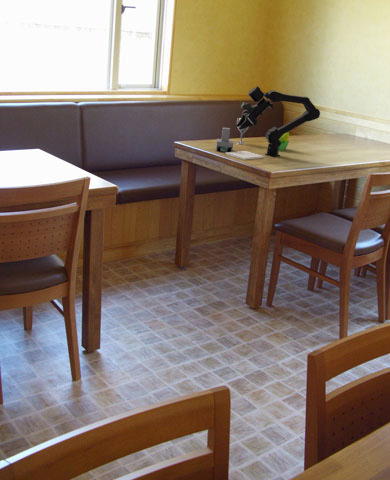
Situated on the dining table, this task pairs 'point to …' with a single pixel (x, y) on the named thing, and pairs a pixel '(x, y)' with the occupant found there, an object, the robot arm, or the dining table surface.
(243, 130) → the wine glass
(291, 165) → the dining table surface
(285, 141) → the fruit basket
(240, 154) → the board
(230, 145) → the cover
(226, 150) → the block
